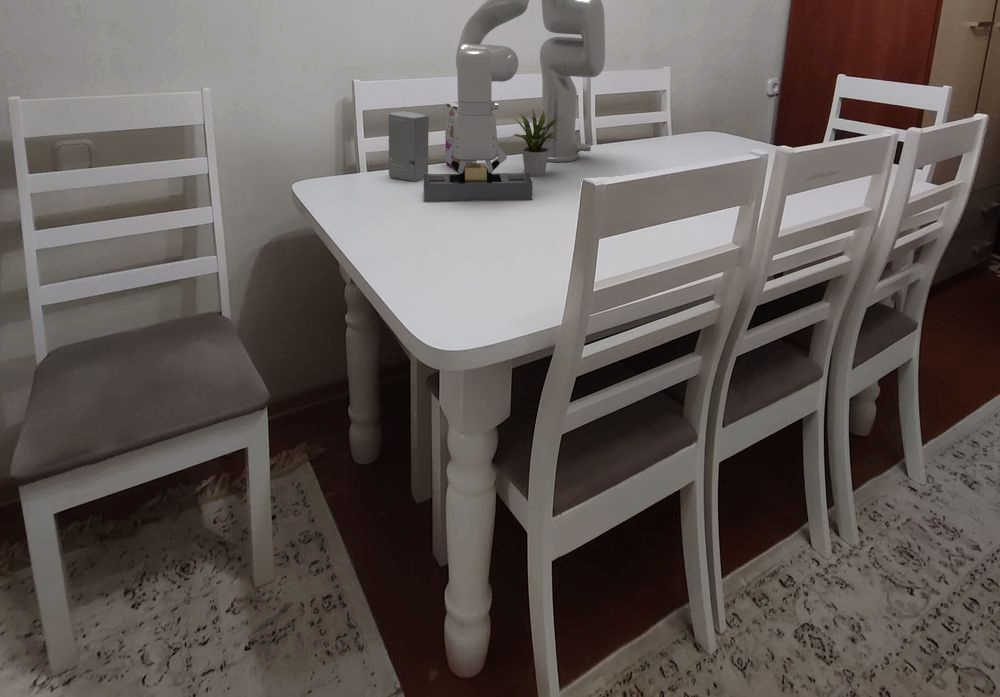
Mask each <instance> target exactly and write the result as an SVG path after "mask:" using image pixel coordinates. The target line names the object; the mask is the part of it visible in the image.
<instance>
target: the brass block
mask: <svg viewBox="0 0 1000 697" xmlns="http://www.w3.org/2000/svg"><path fill="white" fill-rule="evenodd" d="M464 171H465V182H487V165H486V162H476V163H465V166H464Z"/></svg>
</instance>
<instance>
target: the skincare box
mask: <svg viewBox="0 0 1000 697" xmlns="http://www.w3.org/2000/svg"><path fill="white" fill-rule="evenodd" d="M429 119H430V116H429V115H428V114H422V113H418V112H409V111H405V110H404V111H403V110H402V111H395V112H389V113H388V176H389V178H390V179H398V180H404V181H412V182H417V181H420V180H422V179H423V180H424V174H429Z"/></svg>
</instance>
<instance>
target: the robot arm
mask: <svg viewBox="0 0 1000 697" xmlns="http://www.w3.org/2000/svg"><path fill="white" fill-rule="evenodd" d="M529 3H530V0H485V1H484V3H482V4H481V5H480V6H479V7H478V8H477V9H476V11H475V12H474V13H473V14H472V15H471V16H470V17H469V19H468V20H467V21H466V23H465V25H464V27H463V29H462V30H461V31H462V32H461V35H460V38H459V42H458V46H457V49H456V56H455V66H456V67H455V68H456V71H457V72H456V73H457V102H458V113H457V114H455V117H454V125H453V144H452V146H451V147H450V149H449V150H448V151H447V153H446V152H445V154H444V156H443V160H444V161H445V162H446V161H447V162H448V163H449V164H451V165H452V166H453V167H454V168H455V169H456V170H457V173H458V174H459V183H465V171H464V166H465V163H466V161H476V162H478V161H484V163H486V167H487V182H492V173H494V171H495V170H496V169H497V168H498V167H499V166H500V164H502V163H503V162H505V161H506V160H507V158H508V157H507V154H506V153H505V152H504V150H503V149H502V148H501V147H500V146H499V144H498V132H497V131H498V130H497V121H496V116H495V113H493V111H495V110H499V103H498V102H494V101H492V84H493V82H501V83H504V82H507V81H510V80H511V79H512V78H514V76H515V75H516V74H517V71H518V68H519V58H518V56H517V53H516V52H515V51H514V50H513V49H512V48H511V47H508V46H505V45H495V44H493V45H492V44H482V42H483V40H484V39H485V37H486V36H488V34H489V33H490V32H492V30H494V29H496V28H497V27H499V26H501V25H503V24H505V23H507V22H510V21H512V20H514V19H516V18H518V17H520V16H522V15H523V14H524V13H525V12H526V11H527V9H528V8H529V7H528V6H529ZM541 11H542V13H541V14H542V20H543V22H542V23H543V25H544V28H545V30H547V31H548V32H550V33H554V34H561V35H562V34H563V35H579V36H581V37H571V36H568V37H567V36H555V37H553V36H552V37H550V38H548V39H546V40H544V41H543V43H542V45H541V47H540V50H539V62H540V68H541V78H542V80H541V81H542V82H541V83H542V84H541V85H542V88H541V89H542V92H541V94H542V97H541V113H542V112H543V110H544V114H546V116H545V123H544V125H543V127H545V126H547V125H548V124H549V123H550V122H551V121H552V120H554V119H556V118H558V117H561V118H558V119H560V121H558V120H555V121H557V122H555V123H554V124H557V125H555V126H551V127H550V128H549V130H548V131H547V133H552V132H554V131H557V132H554V133H553V134H551V135H553V136H552V137H555V136H558V137H555V138H557V139H558V140H557V139H554V138H552V139H551V138H548V139H547V140H546V141H545V142H544V144H543V145H542V147H544V148H548V149H549V153H548V159H547V162H551V163H552V162H553V163H564V162H565V163H566V162H567V163H568V162H573V161H577V160H578V159H579V158H580V152H591V150H592V145H591V143H590V144H587V143H577V141H576V140H575V138H576V137H575V136H576V119H577V118H576V116H577V101H578V94H577V93H578V92H577V88H576V85H575V84H574V81H573V79H572V78H571V77H577V78H596V77H598V76H599V75H601V74H602V73H603V70H604V67H605V62H606V26H605V9H604V4H603V2H602V0H541ZM563 116H564V117H563ZM543 127H542V128H543ZM546 130H547V129H546ZM546 130H545V132H546ZM542 132H543V130H542V131H541V133H542ZM545 132H544V133H545ZM541 133H540V134H541ZM547 135H549V134H545V136H547ZM545 136H544V137H545ZM541 139H542V138H541ZM550 139H551V140H550ZM549 140H550V141H549ZM548 141H549V142H548ZM547 142H548V143H547ZM453 153H454V158H455V159H457V160H460V161H459V163H458V162H457V161H456V160H454V159H453V158H452V157H451V156H452V155H453ZM456 170H455V171H456Z"/></svg>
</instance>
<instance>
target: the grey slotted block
mask: <svg viewBox="0 0 1000 697" xmlns="http://www.w3.org/2000/svg"><path fill="white" fill-rule="evenodd" d="M532 200H533V180H532V178H531V176H530V175H529V174H528V173H525V172H502V173H499V172H498V173H495V172H492V182H465V183H459V173H428V174H424V178H423V201H424V202H466V201H467V202H470V201H471V202H473V201H477V202H479V201H480V202H481V201H532Z"/></svg>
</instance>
